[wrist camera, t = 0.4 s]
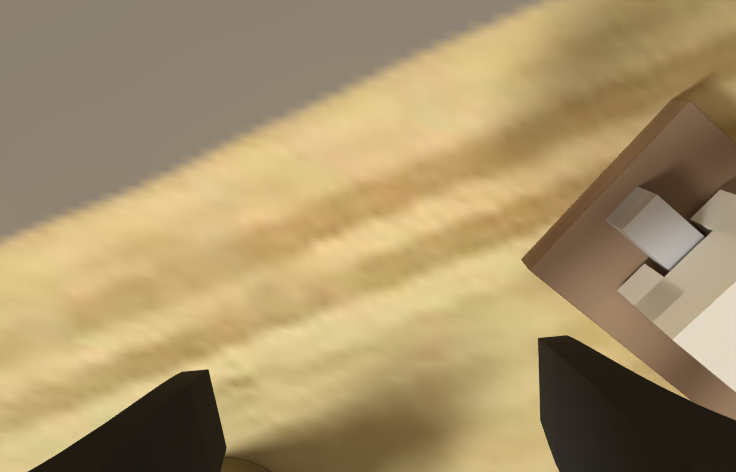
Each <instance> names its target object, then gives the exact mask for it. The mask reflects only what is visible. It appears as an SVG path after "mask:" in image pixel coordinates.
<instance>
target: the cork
mask: <svg viewBox="0 0 736 472" xmlns="http://www.w3.org/2000/svg"><path fill="white" fill-rule="evenodd" d="M221 472H270V471H269V470H267V469H265V468H263V467H261V466H259V465H257V464H255V463H253V462H250V461H246V460H241V459H236V458H224V460H223V464H222V468H221Z"/></svg>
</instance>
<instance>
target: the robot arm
mask: <svg viewBox="0 0 736 472" xmlns="http://www.w3.org/2000/svg"><path fill="white" fill-rule="evenodd" d="M538 352H539V387H540V421H541V423H542V426H543V429H544V432H545V435H546V438H547V441H548V444H549V447H550V449H551V452H552V455H553V458H554V460H555V463H556V465H557V467H558V469H559V471H560V472H736V420H734V419H731V418H729V417H727V416H724V415H722V414H719V413H717V412H714V411H712V410H709V409H707V408H705V407H703V406H700V405H698V404H696V403H694V402H691V401H689V400H687V399H685V398H683V397H681V396H679V395H677V394H675V393H673V392H671V391H669V390H667V389H665V388H663V387H661V386H659V385H657V384H655V383H653V382H651V381H649V380H647V379H645V378H643V377H642V376H640V375H638V374H636V373H634V372H632V371H631V370H629V369H627V368H625V367H623V366H622V365H620V364H618V363H616V362H615V361H613V360H611V359H609V358H608V357H606V356H604V355H602V354H601V353H599V352H597V351H595V350H594V349H592V348H590V347H588V346H587V345H585V344H583V343H581V342H580V341H578V340H576V339H574V338H572V337H570V336H567V335H566V336H556V337H545V338H538ZM225 452H226V443H225V439H224V435H223V430H222V426H221V422H220V417H219V413H218V409H217V405H216V400H215V396H214V392H213V387H212V383H211V379H210V374H209V370H197V371H187V372H181V373H179V374H177V375H175V376H173V377H172V378H170V379H168V380H167V381H165V382H164V383H162V384H161V385H159V386H158V387H156V388H155V389H153V390H152V391H151V392H149V393H148V394H146V395H145V396H143V397H142V398H141V399H139V400H138V401H136V402H135V403H133V404H132V405H131V406H129V407H128V408H126V409H125V410H123V411H122V412H121V413H119V414H118V415H116V416H115V417H113V418H112V419H111V420H109V421H108V422H106V423H105V424H103V425H102V426H100V427H99V428H97V429H96V430H94V431H93V432H91V433H89V434H88V435H86V436H85V437H83V438H82V439H80V440H79V441H77V442H76V443H74V444H73V445H71V446H70V447H68V448H66V449H65V450H63V451H62V452H60V453H59V454H57V455H55V456H54V457H52V458H51V459H49V460H47V461H46V462H44V463H42V464H40V465H39V466H37V467H35V468H34V469H32V470H30V471H28V472H221V468H222V464H223V460H224V456H225Z"/></svg>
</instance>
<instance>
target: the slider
mask: <svg viewBox="0 0 736 472" xmlns="http://www.w3.org/2000/svg"><path fill="white" fill-rule="evenodd" d="M690 220H691V221H693V222H694V223H695V224H696V225H697V226H698V227H699V228H700V229H702V230H703V231H704V232H705V233H706V234H707V235H708V236H707V237H706V238H704V239H703V240H702V241H701V242H700V243H699V244H698V245H697V246H696V247H695V248H694V249H693V250H692V251H691V252H690V253H689V254H688V255H687V256H686V257H685V258H684V259H683V260H682V261H681V262H679V263H678V264H677V265H676V266H675V267H674V268H673V269H672V270H671V271H670V272H669V273H668V274H667V275H666V276H665V277H663V276H662V275H660V274H659V273H657V272H656V271H655V270H653V269H652V268H650V267H649V266H647V265H646V264H644V265H642V266H641V267H640V268H639V269H638V270H637V271H636V272H635V273H634V274H633V275H632V276H631V277H630V278H629V279H628V280H627V281H626V282H625V283H624V284H623V285H622V286H621V287H620V288H619V289H618V290H617V291H618V292H619V293H620V294H621V295H622V296H624V297H625V298H626V299H627V300H628V301H629V302H630V303H631V304H633V305H634V306H635V307H636V308H637V309H638V310H639V311H640V312H642V313H643V314H644V315H645V316H646V317H647V318H648V319H649V320H651V321H652V322H653V323H654V324H655V325H656V326H657V327H658V328H660V329H661V330H662V331H663V332H664V333H665V334H666V335H667V336H669V337H670V338H671V339H672V340H673V341H674V342H676V343H677V344H678V345H679V346H680V347H682V348H683V349H684V350H685V351H686V352H688V353H689V354H690V355H691V356H692V357H694V358H695V359H696V360H697V361H699V362H700V363H701V364H702V365H703V366H705V367H706V368H707V369H708V370H709V371H711V372H712V373H713V374H714V375H715V376H717V377H718V378H719V379H720V380H722V381H723V382H724V383H725V384H726V385H728V386H729V387H730V388H731V389H732V390H734V391H735V392H736V195H735V194H732V193H729V192H726V191H723V190H719V191H718V192H717V193H716V194H715V195H714V196H713V197H712V198H711V199H710V200H709V201H708V202H707V203H706V204H705V205H704V206H703V207H702V208H701V209H700V210H699V211H698V212H697V213H696V214H695V215H694V216H693V217H691V218H690Z"/></svg>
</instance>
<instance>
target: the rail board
mask: <svg viewBox="0 0 736 472" xmlns="http://www.w3.org/2000/svg"><path fill="white" fill-rule="evenodd" d="M719 190H723V191H726V192H729V193H732V194H735V195H736V144H735V143H734V142H733V141H732V140H731V139H730V138H729V137H728V136H727V135H726V134H724V133H723V132H722V131H721V130H720V129H719V128H718V127H717V126H716V125H715V124H714V123H713V122H712V121H711V120H710V119H709V118H708V117H706V116H705V115H704V114H703V113H702V112H701V111H700V110H699V109H698V108H697V107H696V106H695V105H694V104H693V103H692V102H691V101H680V100H671V101H670V102H669V103H668V104H667V105H666V106H665V107H664V108H663V110H662V111H661V112H660V113H659V114H658V115H657V116H656V117H655V118H654V119H653V120H652V121H651V122H650V123H649V124H648V125H647V127H646V128H645V129H644V130H643V131H642V132H641V133H640V134H639V135H638V136H637V137H636V138H635V139H634V140H633V141H632V142H631V144H630V145H629V146H628V147H627V148H626V149H625V150H624V151H623V152H622V153H621V154H620V155H619V156H618V157H617V158H616V159H615V161H614V162H613V163H612V164H611V165H610V166H609V167H608V168H607V169H606V170H605V171H604V172H603V173H602V174H601V175H600V176H599V178H598V179H597V180H596V181H595V182H594V183H593V184H592V185H591V186H590V187H589V188H588V189H587V190H586V191H585V192H584V193H583V195H582V196H581V197H580V198H579V199H578V200H577V201H576V202H575V203H574V204H573V205H572V206H571V207H570V208H569V209H568V210H567V212H566V213H565V214H564V215H563V216H562V217H561V218H560V219H559V220H558V221H557V222H556V223H555V224H554V225H553V226H552V227H551V229H550V230H549V231H548V232H547V233H546V234H545V235H544V236H543V237H542V238H541V239H540V240H539V241H538V242H537V243H536V244H535V246H534V247H533V248H532V249H531V250H530V251H529V252H528V253H527V254H526V255H525V256H524V257H523V258H522V259H521V260H522V261H523V263H524V264H525V265H526V266H527V268H528V269H529V270H530V271H531V272H532V273H534V274H535V275H536V276H537V277H539V278H540V279H541V280H542V281H544V282H545V283H546V284H547V285H549V286H550V287H551V288H552V289H553V290H555V291H556V292H557V293H558V294H560V295H561V296H562V297H563V298H565V299H566V300H567V301H568V302H570V303H571V304H572V305H573V306H575V307H576V308H577V309H578V310H580V311H581V312H582V313H583V314H585V315H586V316H587V317H588V318H589V319H591V320H592V321H593V322H594V323H596V324H597V325H598V326H599V327H601V328H602V329H603V330H604V331H606V332H607V333H608V334H609V335H611V336H612V337H613V338H614V339H616V340H617V341H618V342H619V343H621V344H622V345H623V346H624V347H625V348H627V349H628V350H629V351H630V352H632V353H633V354H634V355H635V356H637V357H638V358H639V359H640V360H642V361H643V362H644V363H645V364H647V365H648V366H649V367H650V368H652V369H653V370H654V371H655V372H657V373H658V374H659V375H660V376H661V377H663V378H664V379H665V380H666V381H668V382H669V383H670V384H671V385H673V386H674V387H675V388H676V389H678V390H679V391H680V392H681V393H683V394H684V395H685V396H686V397H688V398H689V399H690V400H691V401H693V402H694V403H696V404H698V405H700V406H703V407H705V408H707V409H709V410H712V411H714V412H717V413H719V414H722V415H724V416H727V417H729V418H731V419H734V420H736V392H735V391H734V390H732V389H731V388H730V387H729V386H728V385H726V384H725V383H724V382H723V381H722V380H720V379H719V378H718V377H717V376H715V375H714V374H713V373H712V372H711V371H709V370H708V369H707V368H706V367H705V366H703V365H702V364H701V363H700V362H699V361H697V360H696V359H695V358H694V357H692V356H691V355H690V354H689V353H688V352H686V351H685V350H684V349H683V348H682V347H680V346H679V345H678V344H677V343H676V342H674V341H673V340H672V339H671V338H670V337H669V336H667V335H666V334H665V333H664V332H663V331H662V330H661V329H660V328H658V327H657V326H656V325H655V324H654V323H653V322H652V321H651V320H649V319H648V318H647V317H646V316H645V315H644V314H643V313H642V312H640V311H639V310H638V309H637V308H636V307H635V306H634V305H633V304H631V303H630V302H629V301H628V300H627V299H626V298H625V297H624V296H622V295H621V294H620V293H619V292H618V291H617V290H618V289H619V288H620V287H621V286H622V285H623V284H624V283H625V282H626V281H627V280H628V279H629V278H630V277H631V276H632V275H633V274H634V273H635V272H636V271H637V270H638V269H639V268H640V267H641V266H642V265H644V264H646V265H647V266H649V267H650V268H652V269H653V270H655V271H656V272H657V273H659V274H660V275H662V276H663V277H665V276H666V275H667V274H668V273H669V272H670V271H671V270H672V269H673V268H674V267H675V266H676V265H677V264H678V263H679V262H681V261H682V260H683V259H684V258H685V257H686V256H687V255H688V254H689V253H690V252H691V251H692V250H693V249H694V248H695V247H696V246H697V245H698V244H699V243H700V242H701V241H702V240H703V239H704V238H706V237H707V236H708V235H707V234H706V233H705V232H704V231H703V230H702V229H700V228H699V227H698V226H697V225H696V224H695V223H694V222H693V221H691V220H690V218H691V217H693V216H694V215H695V214H696V213H697V212H698V211H699V210H700V209H701V208H702V207H703V206H704V205H705V204H706V203H707V202H708V201H709V200H710V199H711V198H712V197H713V196H714V195H715V194H716V193H717V192H718V191H719Z"/></svg>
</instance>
